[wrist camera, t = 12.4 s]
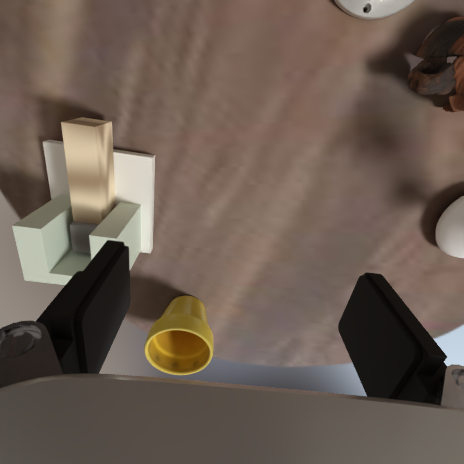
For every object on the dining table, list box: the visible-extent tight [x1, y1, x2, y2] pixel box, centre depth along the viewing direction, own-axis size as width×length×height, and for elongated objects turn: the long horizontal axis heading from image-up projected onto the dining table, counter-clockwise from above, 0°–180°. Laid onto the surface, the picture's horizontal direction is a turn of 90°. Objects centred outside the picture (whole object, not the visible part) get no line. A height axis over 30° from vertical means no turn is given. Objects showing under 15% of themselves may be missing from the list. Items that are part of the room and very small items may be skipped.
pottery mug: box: [407, 17, 464, 112], centre depth 32 cm, size 12×10×8 cm
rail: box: [61, 117, 116, 254], centre depth 36 cm, size 16×4×6 cm, turn 172°
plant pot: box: [144, 296, 213, 375], centre depth 47 cm, size 10×10×10 cm
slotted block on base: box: [12, 140, 155, 285], centre depth 37 cm, size 15×14×12 cm
